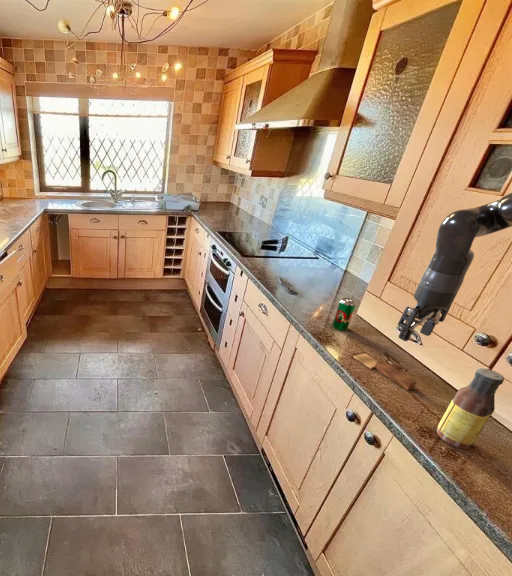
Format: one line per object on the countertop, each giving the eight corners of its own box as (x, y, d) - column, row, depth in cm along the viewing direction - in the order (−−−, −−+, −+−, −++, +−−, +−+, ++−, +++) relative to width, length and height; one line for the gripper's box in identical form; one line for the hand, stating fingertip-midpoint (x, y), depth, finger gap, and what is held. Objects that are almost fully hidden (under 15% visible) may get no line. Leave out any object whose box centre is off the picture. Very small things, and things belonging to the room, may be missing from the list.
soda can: (342, 324, 120) (352, 297, 114) (350, 331, 115) (360, 303, 110) (329, 323, 120) (338, 296, 115) (335, 331, 116) (345, 303, 110)
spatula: (416, 387, 90) (420, 380, 88) (404, 391, 88) (407, 384, 87) (364, 354, 103) (367, 348, 102) (353, 357, 102) (355, 351, 101)
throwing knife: (288, 293, 143) (288, 292, 143) (273, 275, 161) (273, 274, 161) (297, 293, 143) (298, 292, 143) (281, 276, 161) (282, 275, 161)
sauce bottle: (476, 453, 71) (524, 389, 62) (442, 445, 73) (484, 382, 64) (459, 430, 77) (501, 368, 68) (428, 423, 78) (465, 362, 70)
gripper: (436, 296, 75) (410, 349, 82) (475, 288, 79) (446, 339, 86) (403, 283, 82) (382, 334, 89) (441, 276, 85) (417, 325, 92)
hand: (414, 336), depth 87 cm, fingers open, 8 cm apart
